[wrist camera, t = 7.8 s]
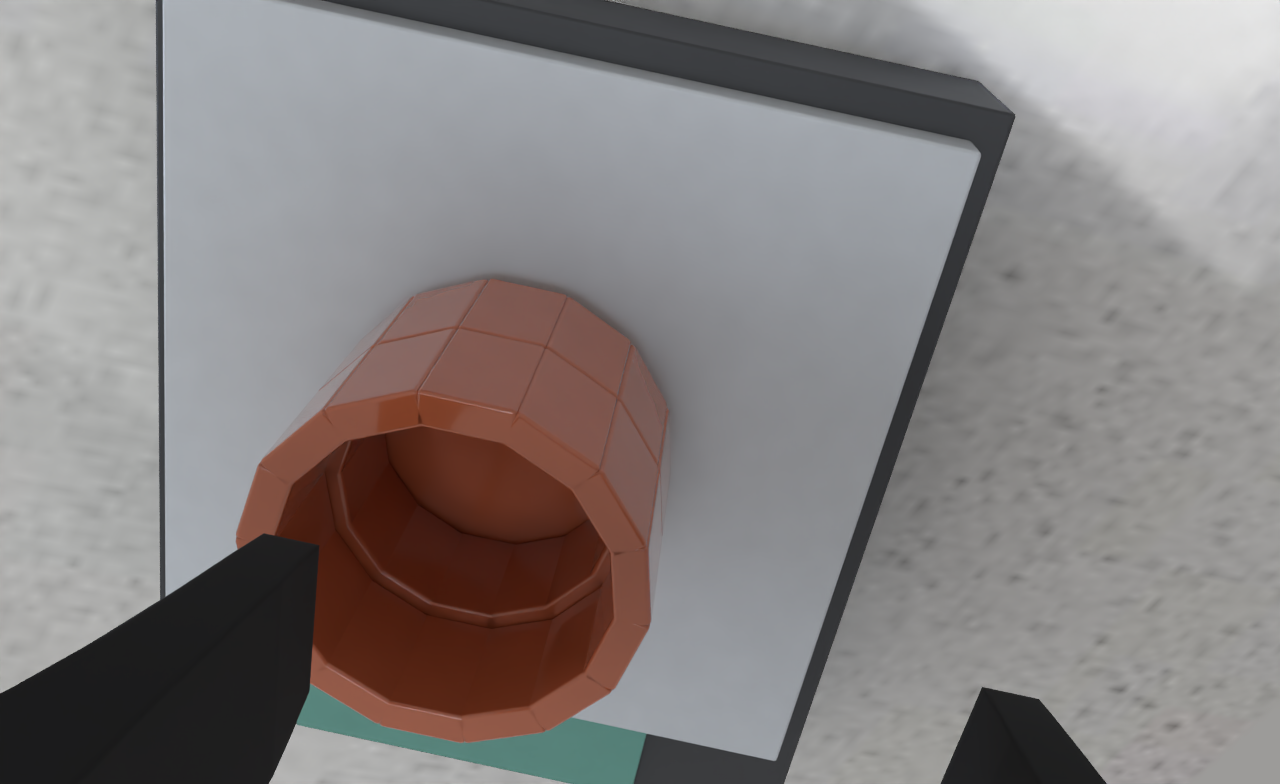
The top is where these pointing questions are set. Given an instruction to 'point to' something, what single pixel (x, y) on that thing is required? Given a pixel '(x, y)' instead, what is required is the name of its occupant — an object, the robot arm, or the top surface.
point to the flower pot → (476, 512)
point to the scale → (578, 298)
